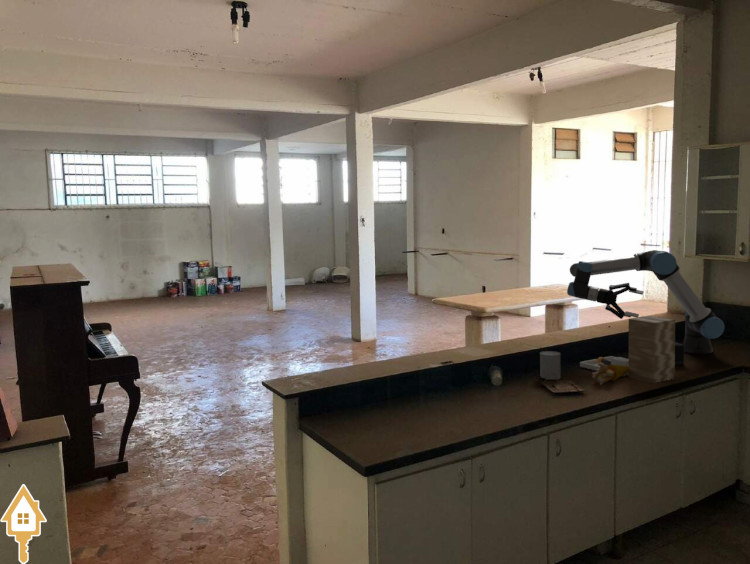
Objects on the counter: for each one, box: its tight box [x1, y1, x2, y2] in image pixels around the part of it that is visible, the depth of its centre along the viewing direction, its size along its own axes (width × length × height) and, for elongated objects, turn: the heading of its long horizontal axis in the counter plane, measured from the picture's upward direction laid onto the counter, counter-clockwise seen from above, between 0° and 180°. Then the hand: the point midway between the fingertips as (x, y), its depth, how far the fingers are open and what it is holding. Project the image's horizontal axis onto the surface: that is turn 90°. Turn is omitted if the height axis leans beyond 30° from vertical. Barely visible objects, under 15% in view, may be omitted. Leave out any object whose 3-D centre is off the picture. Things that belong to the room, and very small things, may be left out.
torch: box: [591, 362, 629, 385], centre depth 281 cm, size 8×8×25 cm
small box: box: [675, 341, 685, 366], centre depth 308 cm, size 11×6×10 cm, turn 179°
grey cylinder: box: [539, 350, 562, 380], centre depth 289 cm, size 10×10×12 cm
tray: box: [579, 355, 629, 378], centre depth 302 cm, size 22×25×2 cm
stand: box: [628, 315, 676, 384], centre depth 282 cm, size 14×14×28 cm
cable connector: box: [597, 356, 629, 367], centre depth 303 cm, size 6×18×5 cm, turn 26°
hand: (640, 304), depth 307 cm, fingers open, 13 cm apart
